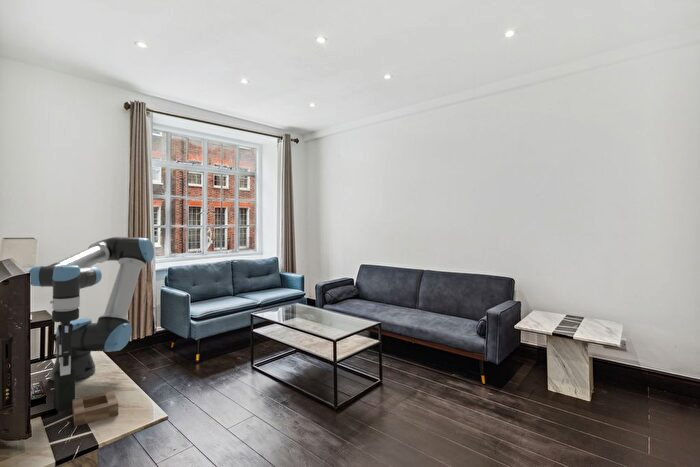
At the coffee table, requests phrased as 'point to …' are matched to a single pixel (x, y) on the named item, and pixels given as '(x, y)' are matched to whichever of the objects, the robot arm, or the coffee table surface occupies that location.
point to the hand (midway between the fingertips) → (64, 368)
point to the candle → (64, 389)
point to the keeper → (94, 407)
